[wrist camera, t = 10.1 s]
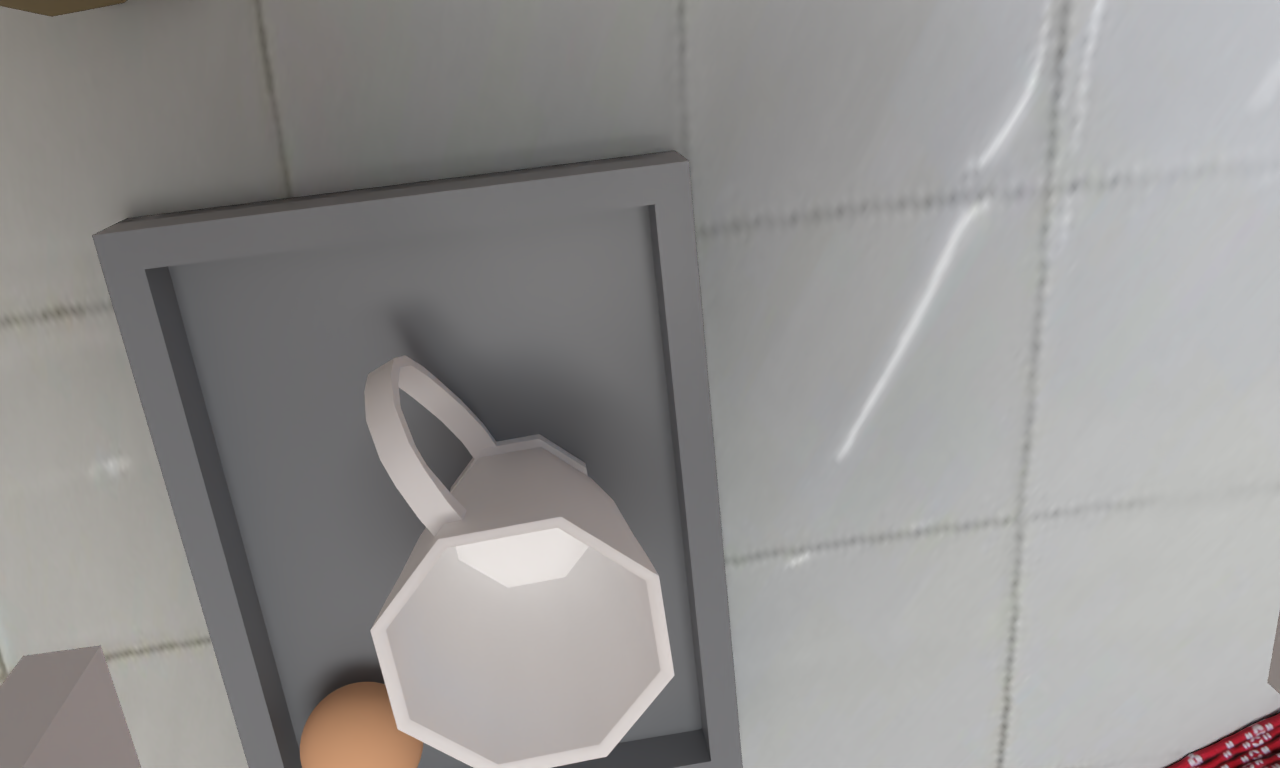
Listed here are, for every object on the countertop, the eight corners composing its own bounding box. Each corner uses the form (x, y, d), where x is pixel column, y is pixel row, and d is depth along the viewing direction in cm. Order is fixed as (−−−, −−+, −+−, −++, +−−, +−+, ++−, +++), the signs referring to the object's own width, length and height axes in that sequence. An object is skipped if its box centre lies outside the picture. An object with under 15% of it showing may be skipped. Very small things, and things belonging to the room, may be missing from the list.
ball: (300, 667, 31) (275, 744, 28) (416, 649, 32) (405, 723, 28) (325, 761, 33) (303, 845, 29) (436, 743, 33) (428, 824, 30)
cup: (490, 640, 32) (483, 830, 24) (292, 390, 28) (212, 520, 21) (680, 528, 31) (734, 685, 24) (502, 260, 28) (498, 344, 20)
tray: (126, 218, 27) (92, 235, 25) (674, 150, 28) (689, 160, 26) (292, 806, 34) (276, 861, 32) (729, 732, 35) (743, 781, 33)
